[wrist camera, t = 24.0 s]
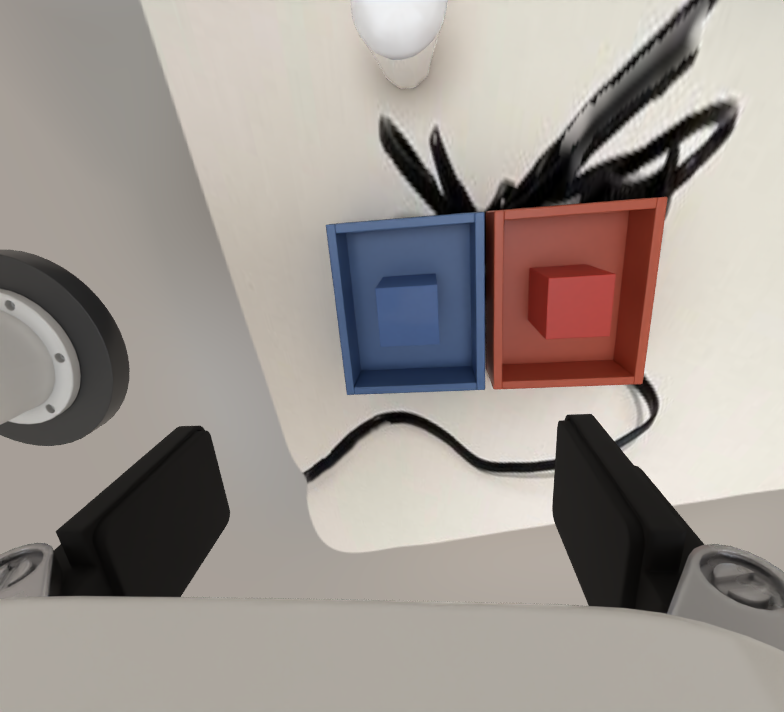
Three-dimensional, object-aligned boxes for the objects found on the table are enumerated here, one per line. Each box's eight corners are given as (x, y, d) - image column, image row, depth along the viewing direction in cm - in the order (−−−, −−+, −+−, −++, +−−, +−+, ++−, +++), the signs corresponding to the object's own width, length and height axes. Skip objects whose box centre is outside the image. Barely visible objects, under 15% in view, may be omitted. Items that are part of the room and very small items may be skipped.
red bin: (486, 369, 33) (493, 389, 29) (485, 211, 29) (494, 211, 25) (616, 363, 32) (642, 384, 28) (635, 198, 28) (668, 196, 24)
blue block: (387, 327, 32) (380, 347, 27) (382, 276, 31) (374, 288, 26) (438, 324, 32) (439, 344, 27) (435, 273, 30) (437, 284, 26)
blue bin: (355, 374, 34) (346, 395, 30) (338, 223, 30) (325, 224, 26) (478, 369, 33) (485, 390, 29) (477, 212, 29) (484, 211, 25)
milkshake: (466, 57, 26) (487, -30, 17) (400, 116, 28) (386, 67, 18) (424, -10, 25) (422, -143, 16) (358, 55, 27) (320, -31, 17)
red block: (527, 320, 31) (545, 340, 26) (529, 267, 30) (548, 277, 25) (582, 317, 31) (610, 336, 26) (586, 263, 29) (616, 273, 25)
